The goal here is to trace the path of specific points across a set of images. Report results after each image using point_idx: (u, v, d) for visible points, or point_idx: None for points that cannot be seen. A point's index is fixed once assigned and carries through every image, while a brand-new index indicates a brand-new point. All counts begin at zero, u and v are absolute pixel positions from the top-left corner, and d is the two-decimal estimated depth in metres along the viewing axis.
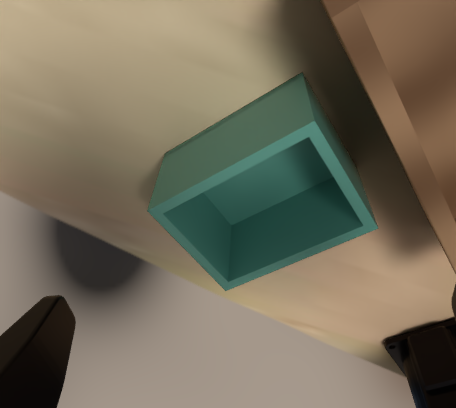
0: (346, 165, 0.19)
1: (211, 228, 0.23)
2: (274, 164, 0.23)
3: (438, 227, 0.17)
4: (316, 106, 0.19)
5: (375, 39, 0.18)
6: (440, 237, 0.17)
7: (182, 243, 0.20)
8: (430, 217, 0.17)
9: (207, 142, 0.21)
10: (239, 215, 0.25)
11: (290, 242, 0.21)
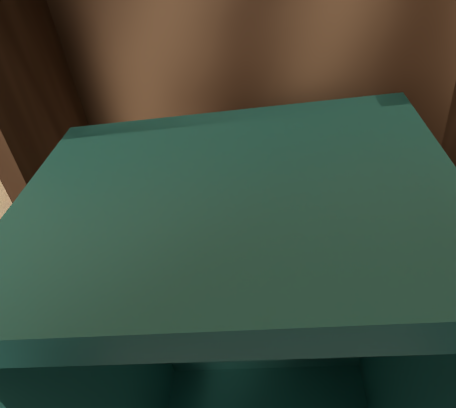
0: (247, 222, 0.05)
1: None
2: None
3: None
4: (84, 178, 0.07)
5: None
6: None
7: None
8: None
9: None
10: None
11: None
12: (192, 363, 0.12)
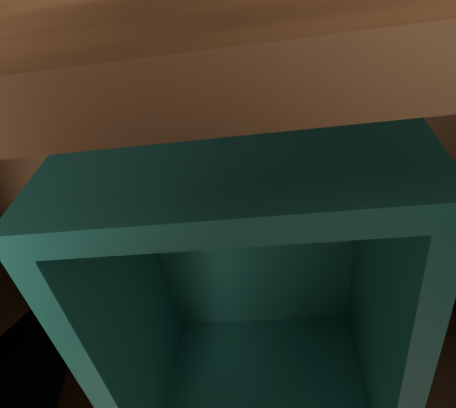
0: (249, 153, 0.07)
1: (295, 378, 0.12)
2: None
3: None
4: None
5: None
6: None
7: None
8: None
9: None
10: (336, 299, 0.13)
11: (388, 344, 0.08)
12: (198, 316, 0.14)
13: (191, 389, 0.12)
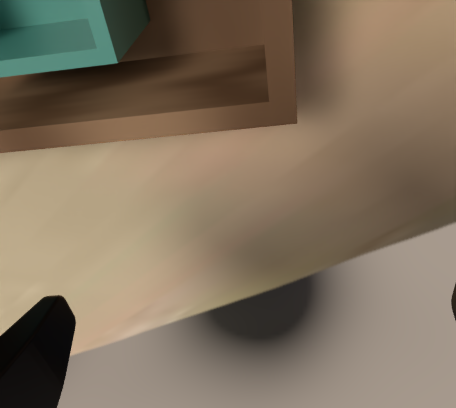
0: None
1: (68, 33, 0.15)
2: None
3: (93, 139, 0.14)
4: None
5: None
6: (112, 140, 0.14)
7: None
8: (75, 143, 0.14)
9: None
10: None
11: None
12: (12, 18, 0.17)
13: None
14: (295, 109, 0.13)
